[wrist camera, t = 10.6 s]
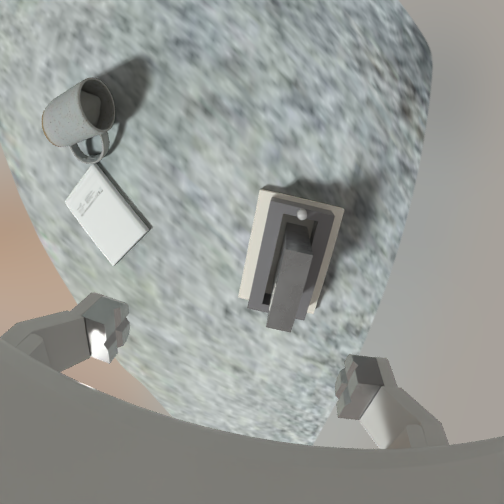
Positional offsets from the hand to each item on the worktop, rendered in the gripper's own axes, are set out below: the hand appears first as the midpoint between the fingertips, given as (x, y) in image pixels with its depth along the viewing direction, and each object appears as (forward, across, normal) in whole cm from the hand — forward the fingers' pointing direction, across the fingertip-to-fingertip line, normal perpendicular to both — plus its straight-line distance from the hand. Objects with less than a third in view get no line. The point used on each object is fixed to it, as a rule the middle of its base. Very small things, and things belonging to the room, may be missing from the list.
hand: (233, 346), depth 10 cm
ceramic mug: (+28, +26, -6) cm, 38 cm away
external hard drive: (+28, +23, +6) cm, 36 cm away
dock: (+27, -3, +6) cm, 28 cm away
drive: (+26, -3, +6) cm, 27 cm away
